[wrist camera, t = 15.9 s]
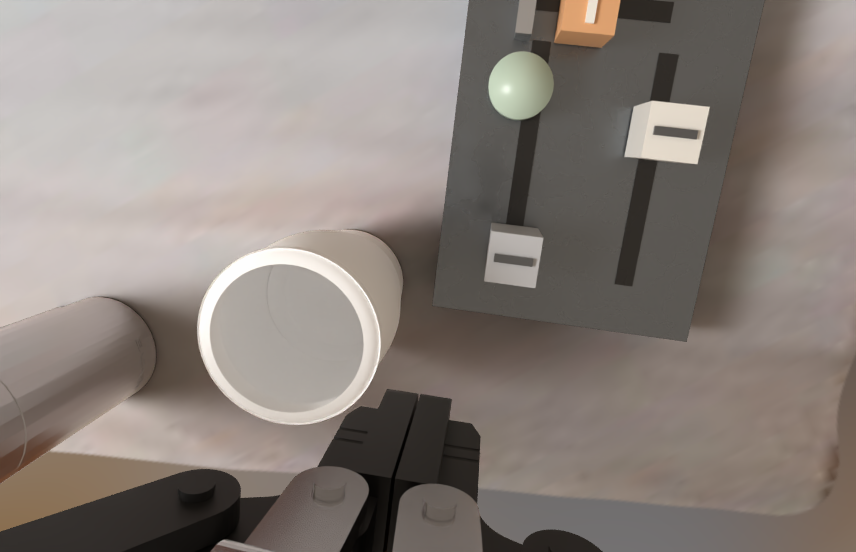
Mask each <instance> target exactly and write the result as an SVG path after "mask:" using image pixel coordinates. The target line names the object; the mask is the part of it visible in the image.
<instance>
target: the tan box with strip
mask: <svg viewBox="0 0 856 552" xmlns="http://www.w3.org/2000/svg"><path fill="white" fill-rule="evenodd" d="M619 6H620V0H561V1H560V7H559V14H558V20H557V27H556V33H555V40H554V43H559V44H569V45H579V46H589V47H599V48H602V47H603V46H604V45H605V44H606V43H607V42H608V41H609V40H610V39H611V38H612V37H613V36H614V34H615V29H616V23H617V17H618V12H619Z"/></svg>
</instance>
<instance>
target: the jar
mask: <svg viewBox="0 0 856 552" xmlns="http://www.w3.org/2000/svg"><path fill="white" fill-rule="evenodd" d="M402 290H403V275H402V270H401V267H400V264H399V262H398V260H397V258H396V256H395V254H394V253H393V252H392V250H391V249H390V248H389V247H388V246H387V245H386V244H385V243H384V242H383V241H381V240H380V239H378V238H377V237H375V236H373V235H371V234H369V233H366V232H363V231H358V230H340V231H331V230H315V231H307V232H302V233H298V234H294V235H291V236H288V237H285V238H283V239H281V240H279V241H277V242H275V243H273V244H271V245H269V246H268V247H266V248H264V249H260V250H257V251H254V252H252V253H249V254H247V255H245V256H243V257H241V258H239V259H237V260H236V261H234V262H233V263H231V264H230V265H228V266H227V267H226V268H225V269H224V270H223V271H222V272H221V273H220V274H219V275H218V276H217V277H216V278H215V279H214V281H213V282H212V283H211V285H210V286H209V288H208V290H207V292H206V293H205V296H204V298H203V300H202V303H201V306H200V310H199V315H198V322H197V337H198V345H199V350H200V354H201V357H202V360H203V362H204V365H205V367H206V369H207V371H208V373H209V375H210V377H211V378H212V380H213V381H214V383H215V384H216V385H217V387H218V388H219V389H220V390H221V391H222V392H223V394H224V395H225V396H226V397H227V398H229V399H230V400H231V401H232V402H233V403H234V404H236V405H237V406H239V407H240V408H241V409H243V410H245V411H246V412H248V413H250V414H252V415H254V416H256V417H259V418H261V419H264V420H267V421H270V422H274V423H279V424H287V425H305V424H312V423H317V422H321V421H324V420H327V419H329V418H332V417H334V416H336V415H338V414H340V413H341V412H343V411H345V410H346V409H348V408H349V407H350V406H351V405H353V404H354V403H355V402H356V401H357V400H358V399H359V398H360V397H361V396H362V394H363V393H364V392H365V390H366V389H367V387H368V386H369V384H370V382H371V381H372V379H373V376H374V374H375V372H376V369H377V367H378V364H379V363H380V362H381V360H382V359H383V358H384V356H385V355H386V353H387V351H388V350H389V348H390V346H391V344H392V342H393V339H394V337H395V334H396V331H397V328H398V324H399V319H400V310H401V295H402Z"/></svg>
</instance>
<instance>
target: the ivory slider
mask: <svg viewBox="0 0 856 552" xmlns="http://www.w3.org/2000/svg"><path fill="white" fill-rule="evenodd" d="M709 108H710V107H706V106H697V105H687V104H678V103H669V102H659V101H650V102H646V103H643V104H640V105H637V106H634V108H633V113H632V119H631V124H630V129H629V135H628V140H627V145H626V150H625V156H624V157H630V158H638V159H647V160H655V161H664V162H673V163H686V164H698V159H699V155H700V150H701V145H702V141H703V136H704V132H705V127H706V122H707V118H708V113H709Z"/></svg>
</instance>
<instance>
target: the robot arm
mask: <svg viewBox="0 0 856 552" xmlns="http://www.w3.org/2000/svg"><path fill="white" fill-rule="evenodd" d="M155 362H156V349H155V343H154V340H153V337H152V334H151V332H150V330H149V328H148V327H147V325H146V323H145V322H144V321H143V320H142V318H141V317H140V316H139V315H138V314H137V313H136V312H135V311H133V310H132V309H131V308H130V307H128V306H126V305H125V304H123V303H121V302H119V301H116V300H113V299H110V298H104V297H92V298H87V299H84V300H81V301H78V302H75V303H72V304H69V305H67V306H64V307H57V308H54V309H51V310H48V311H45V312H43V313H40V314H37V315H34V316H32V317H29V318H26V319H23V320H20V321H18V322H15V323H12V324H9V325H6V326H4V327H1V328H0V484H1V483H2V482H4V481H5V480H6V479H8V478H9V477H11V476H12V475H14V474H15V473H17V472H18V471H20V470H21V469H23V468H24V467H26V466H27V465H29V464H30V463H32V462H33V461H35V460H36V459H37V458H39V457H41V456H42V455H43V454H45V453H47V452H48V451H50V450H51V449H53V448H54V447H56V446H57V445H58V444H60V443H61V442H63V441H64V440H66V439H67V438H69V437H70V436H72V435H73V434H75V433H76V432H78V431H79V430H81V429H82V428H84V427H85V426H87V425H88V424H90V423H91V422H93V421H94V420H96V419H97V418H99V417H100V416H102V415H103V414H105V413H106V412H108V411H109V410H111V409H112V408H114V407H115V406H117V405H118V404H120V403H121V402H123V401H124V400H126V399H127V398H129V397H130V396H131V395H133V394H134V393H136V392H137V391H139V390H140V389H141V388H142V387H143V386H144V385H146V384H147V382H148V380H149V379H150V377H151V376H152V373H153V371H154V368H155ZM451 401H452V399H449V398H442V397H436V396H429V395H423V394H421V395H420V398H419V401H418V394H416V393H410V392H403V391H397V390H390V389H387V391H386V393H385V395H384V397H383V399H382V402H381V404H380V406H379V408H378V409H375V408H369V407H362V406H361V407H359V408H357V409H356V410H354V411H352V412H351V413H349V414H348V415H346V417H345V419H344V420H343V422H342V424H341V426H340V429H338V431H337V433H336V435H335V436H334V440H332V442H331V444H330V445H329V447H328V449H327V451H326V453H325V454H324V456H323V458H322V460H321V461H320V463H319V465H318V467H316V468H312V469H308V470H306V471H303V472H301V473H300V474H298V475H297V476H295V477H294V479H293V480H292V481H291V482H290V484H289V485H288V486H287V487H286V489H285V490H284V491H283V493H282V494H281V495H279V496H273V497H254V498H240V494H241V493H240V492H241V488H240V484H239V482H238V481H237V480H236V478H234V477H233V476H232V475H230V474H228V473H225V472H222V471H218V470H211V469H198V470H191V471H185V472H182V473H178V474H175V475H172V476H169V477H166V478H163V479H160V480H157V481H154V482H151V483H148V484H145V485H142V486H138V487H135V488H133V489H129V490H126V491H123V492H120V493H117V494H114V495H111V496H108V497H105V498H102V499H99V500H96V501H93V502H90V503H86V504H84V505H81V506H77V507H74V508H71V509H68V510H65V511H62V512H59V513H56V514H53V515H50V516H47V517H44V518H41V519H38V520H35V521H31V522H28V523H25V524H22V525H19V526H16V527H13V528H10V529H7V530H4V531H1V532H0V552H602V551H601V550H600V549H599V548H597V547H596V546H595V545H594V544H592V543H591V542H589V541H588V540H586V539H584V538H582V537H580V536H578V535H575V534H572V533H569V532H566V531H561V530H542V531H537V532H535V533H533V534H531V535H529V536H528V537H527V538H526V539H525V540H524V543H523V545H522V544H519V543H517V542H514V541H512V540H510V539H508V538H505V537H503V536H502V535H500V534H498V533H496V532H495V531H494V530H492V529H491V528H490V527H489V526H488V525H487V524H486V523H485V522H484V521H483V520H482V518H481V516H480V512H479V508H478V506H477V496H478V494H477V493H478V476H479V456H480V435H479V434H478V432H477V431H476V429H475V428H474V426H473V425H472V424H470V423H464V422H458V421H451V420H449V417H450V409H451Z"/></svg>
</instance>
